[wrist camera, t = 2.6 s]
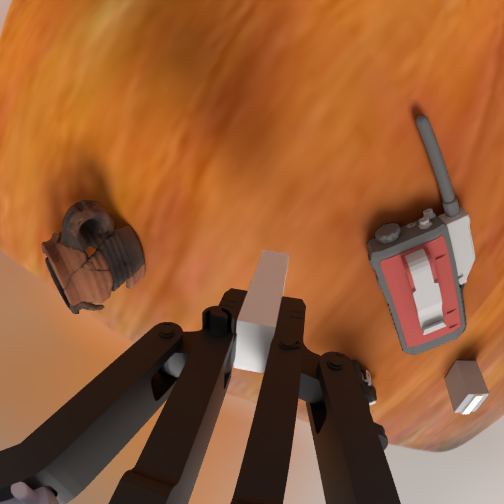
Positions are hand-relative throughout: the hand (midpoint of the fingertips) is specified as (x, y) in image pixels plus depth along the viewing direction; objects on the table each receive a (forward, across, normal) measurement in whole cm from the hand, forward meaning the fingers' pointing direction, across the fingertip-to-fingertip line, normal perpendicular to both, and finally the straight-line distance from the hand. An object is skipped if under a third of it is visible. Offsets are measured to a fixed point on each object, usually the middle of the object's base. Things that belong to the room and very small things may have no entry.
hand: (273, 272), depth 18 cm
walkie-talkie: (+8, +11, 0) cm, 14 cm away
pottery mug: (+8, -17, -4) cm, 19 cm away
